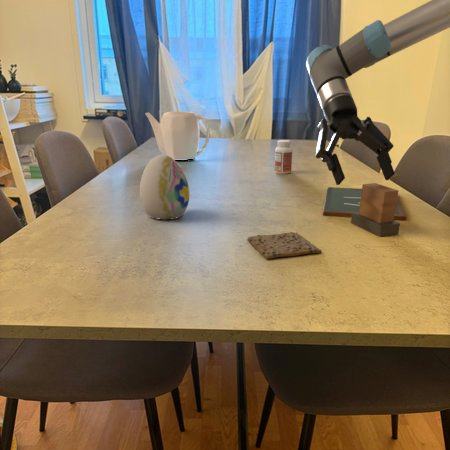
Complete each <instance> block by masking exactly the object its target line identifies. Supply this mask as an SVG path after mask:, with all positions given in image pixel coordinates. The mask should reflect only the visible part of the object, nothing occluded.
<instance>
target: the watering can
mask: <svg viewBox="0 0 450 450" xmlns="http://www.w3.org/2000/svg"><path fill="white" fill-rule="evenodd" d="M144 115H145V116H146V117H147V119H148V121H149V123H150V125H151V128H152V131H153V134H154V138H155V142H156V144H157V147H158V150H159V151H160V152H161V153H163V154H164V155H167V156H170V157H171V158H173V159H194V158H195V159H196V158H197V157H198V156H199V155H201V154H202V153H203V152H204V151H205V150H206V149H207V147H208V145H209V142H210V138H211V137H210V135H211V134H210V127H209V124H208V121H207V119H206V118H205V117H204V116H203V115H201V114H199V113H198V114H196V113H195V112H194V111H188V110H181V111H180V110H178V111H177V110H175V111H166V112H163V114H162V116H161V120H160V123H159V121H158V120H157V119H156V118H155V117H154V115H153V114H151V113H150V111H147V112H144ZM200 120H202V122H203V123H204V125H205V129H206V136H205V140H204V144H203V145H202V147H201V149H199V144H200V135H201V134H200V133H201V131H200V130H201V129H200V124H199V121H200ZM195 159H194V160H195Z"/></svg>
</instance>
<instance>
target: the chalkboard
mask: <svg viewBox="0 0 450 450" xmlns="http://www.w3.org/2000/svg"><path fill="white" fill-rule="evenodd" d="M361 193H362V188H353V187H334V186H333V187H331V186H330V187H329V186H327V187H326V193H325V199H324V203H323V210H322V216H327V217H343V218H351V217H352V213H355V212H359V207H360V200H361ZM393 221H407V215H406V212H405V210H404V207H403V205H402V203H401V201H400V198H399V195H398V196H397V202H396V208H395V213H394V219H393Z"/></svg>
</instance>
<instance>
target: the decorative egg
mask: <svg viewBox="0 0 450 450" xmlns="http://www.w3.org/2000/svg"><path fill="white" fill-rule="evenodd" d="M139 197H140V202H141V204H142V207H143V210H144V211H145V213H146V214H147V215H148V216H149V217H150V216H151V217H150V218H152V217H154V218H160V219H171V218H176V217H179V218H181V217H182V216H184V214H185V212H186V210H187V208H188V205H189V202H190V187H189V182H188V178H187V176H186V174H185V172H184V170H183V168H182V167H181V165H180V164H179V163H178V161H175V160H174V159H173V158H171V157H170V156H167V154H158V155H155V156H154V157H152V158H151V159H150V160H149V161H148V163H147V165H146V166H145V167H144V170H143V172H142V174H141V178H140V183H139ZM180 216H181V217H180ZM154 218H153V219H154ZM176 219H177V218H176ZM171 220H172V219H171Z"/></svg>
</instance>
